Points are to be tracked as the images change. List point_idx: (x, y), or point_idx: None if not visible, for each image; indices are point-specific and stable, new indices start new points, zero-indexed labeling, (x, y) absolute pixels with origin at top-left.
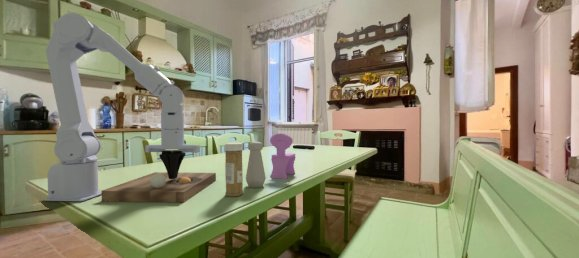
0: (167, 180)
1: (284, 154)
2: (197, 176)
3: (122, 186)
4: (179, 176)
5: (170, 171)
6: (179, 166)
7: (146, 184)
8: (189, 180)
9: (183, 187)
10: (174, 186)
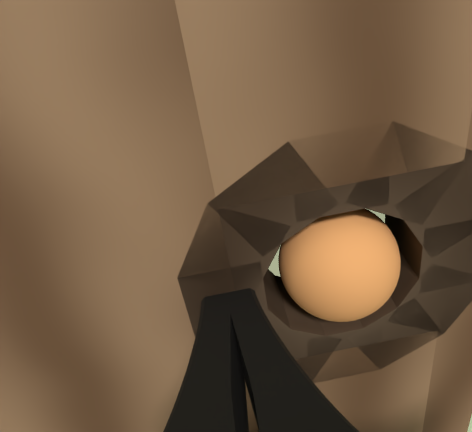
0: (173, 313)
1: None
2: (400, 76)
3: None
4: (156, 135)
5: (245, 416)
6: (303, 378)
7: (114, 427)
8: (397, 279)
9: (426, 404)
10: (354, 405)
